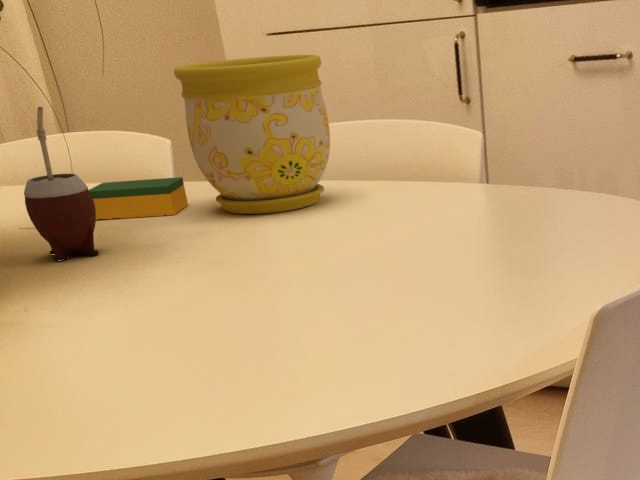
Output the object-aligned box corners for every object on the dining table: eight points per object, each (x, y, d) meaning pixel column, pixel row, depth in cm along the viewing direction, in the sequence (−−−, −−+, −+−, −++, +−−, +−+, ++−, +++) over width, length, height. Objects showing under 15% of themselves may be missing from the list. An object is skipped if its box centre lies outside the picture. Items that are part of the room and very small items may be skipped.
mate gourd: (69, 247, 111) (26, 101, 102) (125, 248, 108) (86, 98, 100) (25, 263, 105) (-24, 109, 96) (84, 264, 103) (39, 106, 94)
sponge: (93, 220, 125) (85, 191, 123) (110, 210, 130) (102, 182, 128) (175, 214, 124) (168, 185, 122) (188, 204, 130) (182, 177, 128)
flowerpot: (367, 195, 127) (350, 52, 118) (270, 223, 115) (242, 66, 106) (274, 189, 136) (251, 56, 127) (175, 214, 125) (142, 69, 115)
